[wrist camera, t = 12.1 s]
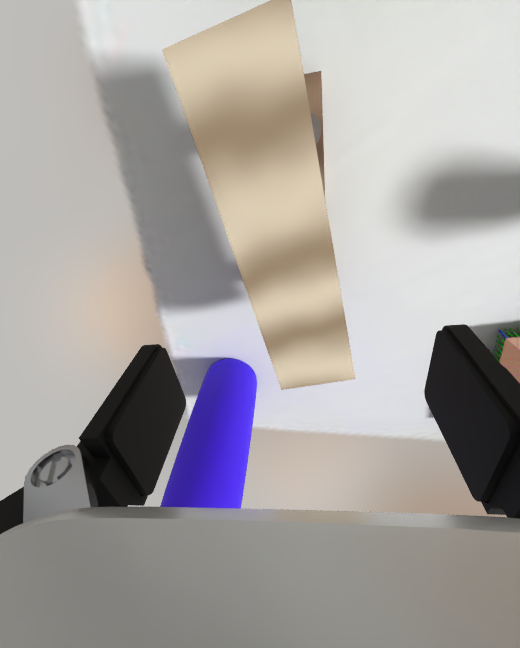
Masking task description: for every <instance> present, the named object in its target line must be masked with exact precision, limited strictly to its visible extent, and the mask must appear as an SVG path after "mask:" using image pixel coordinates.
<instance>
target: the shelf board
mask: <svg viewBox="0 0 520 648" xmlns="http://www.w3.org/2000/svg"><path fill="white" fill-rule="evenodd" d="M162 51H163V54H164V56H165V59H166V62H167V65H168V68H169V71H170V74H171V76H172V79H173V82H174V85H175V88H176V91H177V94H178V96H179V99H180V102H181V105H182V108H183V111H184V114H185V116H186V119H187V122H188V125H189V128H190V131H191V133H192V136H193V139H194V142H195V145H196V148H197V151H198V153H199V156H200V159H201V162H202V165H203V168H204V171H205V173H206V176H207V179H208V182H209V185H210V188H211V191H212V193H213V196H214V199H215V202H216V205H217V208H218V210H219V213H220V216H221V219H222V222H223V225H224V228H225V230H226V233H227V236H228V239H229V242H230V245H231V248H232V250H233V253H234V256H235V259H236V262H237V265H238V268H239V270H240V273H241V276H242V279H243V282H244V285H245V287H246V290H247V293H248V296H249V299H250V302H251V305H252V307H253V310H254V313H255V316H256V319H257V322H258V325H259V327H260V330H261V333H262V336H263V339H264V342H265V345H266V347H267V350H268V353H269V356H270V359H271V362H272V365H273V367H274V370H275V373H276V376H277V379H278V382H279V384H280V387H281V390H283V389H290V388H297V387H304V386H311V385H317V384H324V383H331V382H338V381H345V380H352V379H355V374H354V368H353V362H352V356H351V350H350V344H349V338H348V332H347V327H346V321H345V315H344V309H343V303H342V297H341V291H340V285H339V279H338V273H337V267H336V262H335V256H334V250H333V244H332V238H331V232H330V226H329V220H328V214H327V208H326V203H325V197H324V191H323V185H322V179H321V173H320V167H319V161H318V155H317V149H316V143H315V138H314V132H313V126H312V120H311V114H310V108H309V102H308V96H307V90H306V84H305V78H304V73H303V67H302V61H301V55H300V49H299V43H298V37H297V31H296V25H295V19H294V14H293V8H292V2H291V0H271V1H268V2H266V3H264V4H262V5H260V6H257V7H255V8H253V9H251V10H249V11H246V12H244V13H242V14H240V15H238V16H235V17H233V18H231V19H229V20H227V21H224V22H222V23H220V24H218V25H215V26H213V27H211V28H209V29H207V30H204V31H202V32H200V33H198V34H196V35H193V36H191V37H189V38H187V39H185V40H182V41H180V42H178V43H176V44H174V45H171V46H169V47H167V48H165V49H163V50H162Z"/></svg>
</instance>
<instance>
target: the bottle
mask: <svg viewBox="0 0 520 648" xmlns="http://www.w3.org/2000/svg"><path fill="white" fill-rule="evenodd" d="M256 388H257V379H256V375H255V373H254V371H253V370H252V368H251V367H250V366H249V365H247V364H246V363H244V362H242V361H240V360H236V359H223V360H220V361H217V362H216V363H214V364H213V365H212V366H211V367H210V368H209V370H208V372H207V374H206V376H205V378H204V381H203V383H202V386H201V389H200V391H199V394H198V397H197V400H196V402H195V405H194V408H193V411H192V414H191V416H190V419H189V422H188V425H187V428H186V431H185V434H184V437H183V439H182V442H181V445H180V448H179V451H178V454H177V457H176V460H175V463H174V466H173V469H172V472H171V475H170V478H169V481H168V484H167V487H166V490H165V493H164V496H163V500H162V503H161V506H160V507H189V508H238V509H241V503H242V497H243V490H244V483H245V476H246V470H247V462H248V455H249V447H250V440H251V432H252V424H253V417H254V408H255V399H256Z"/></svg>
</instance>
